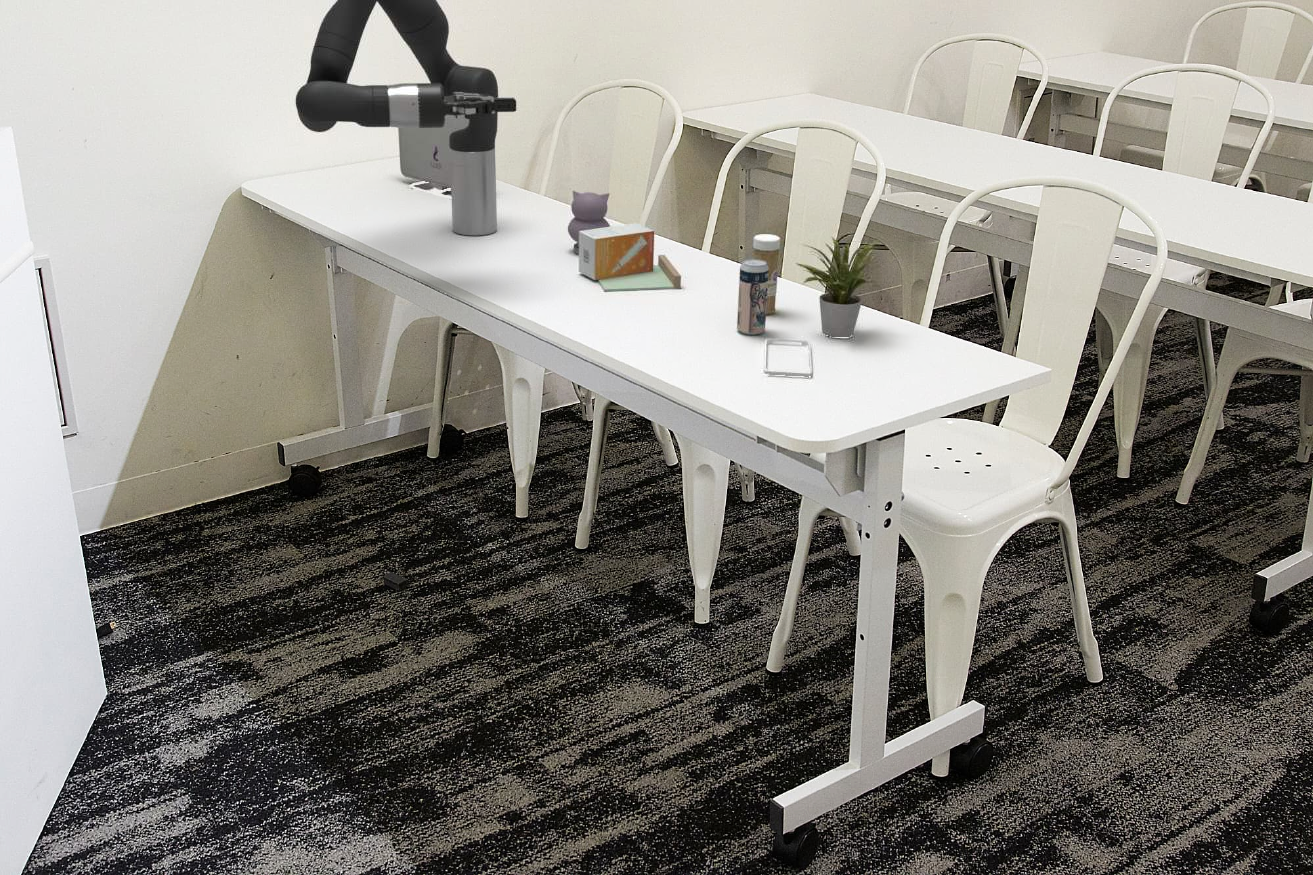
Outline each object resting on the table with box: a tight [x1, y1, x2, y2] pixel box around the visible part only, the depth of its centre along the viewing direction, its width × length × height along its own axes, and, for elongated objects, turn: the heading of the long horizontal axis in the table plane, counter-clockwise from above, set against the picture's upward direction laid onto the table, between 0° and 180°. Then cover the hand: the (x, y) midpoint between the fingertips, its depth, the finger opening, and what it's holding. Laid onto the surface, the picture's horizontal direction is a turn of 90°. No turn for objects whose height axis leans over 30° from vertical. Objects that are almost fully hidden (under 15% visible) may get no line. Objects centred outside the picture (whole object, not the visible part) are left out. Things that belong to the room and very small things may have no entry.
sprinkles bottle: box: [752, 233, 781, 316], centre depth 228 cm, size 5×5×14 cm
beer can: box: [736, 258, 769, 336], centre depth 218 cm, size 5×5×12 cm
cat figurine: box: [567, 190, 611, 256], centre depth 260 cm, size 8×8×12 cm
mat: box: [597, 254, 682, 292], centre depth 246 cm, size 14×14×2 cm
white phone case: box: [763, 338, 813, 377], centre depth 209 cm, size 7×1×15 cm
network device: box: [397, 115, 469, 190], centre depth 303 cm, size 26×9×20 cm, turn 50°
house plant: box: [794, 236, 880, 338], centre depth 219 cm, size 14×14×16 cm
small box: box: [578, 222, 655, 281], centre depth 247 cm, size 8×6×13 cm
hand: (515, 104), depth 231 cm, fingers closed
